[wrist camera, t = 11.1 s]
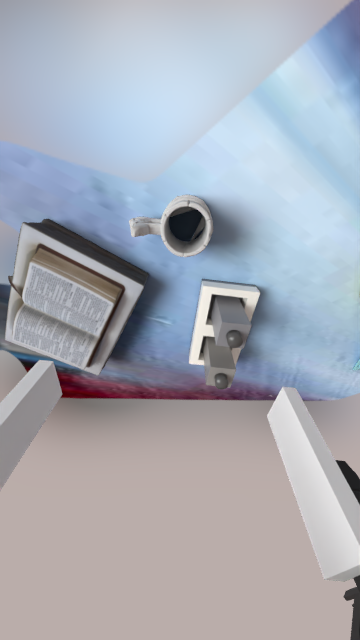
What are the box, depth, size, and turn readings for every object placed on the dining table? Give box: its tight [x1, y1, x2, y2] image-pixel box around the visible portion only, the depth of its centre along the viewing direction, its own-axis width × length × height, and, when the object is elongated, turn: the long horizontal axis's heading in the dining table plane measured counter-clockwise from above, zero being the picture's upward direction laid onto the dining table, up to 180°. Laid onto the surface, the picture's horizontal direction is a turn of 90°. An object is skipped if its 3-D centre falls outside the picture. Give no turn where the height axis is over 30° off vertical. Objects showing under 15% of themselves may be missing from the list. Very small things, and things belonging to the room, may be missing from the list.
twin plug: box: [203, 336, 236, 389], centre depth 40 cm, size 4×4×12 cm
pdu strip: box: [189, 279, 260, 366], centre depth 41 cm, size 10×18×4 cm, turn 174°
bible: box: [5, 219, 149, 375], centre depth 38 cm, size 23×27×10 cm
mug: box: [129, 195, 213, 257], centre depth 29 cm, size 8×12×12 cm, turn 88°
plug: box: [211, 294, 252, 349], centre depth 35 cm, size 4×4×12 cm
